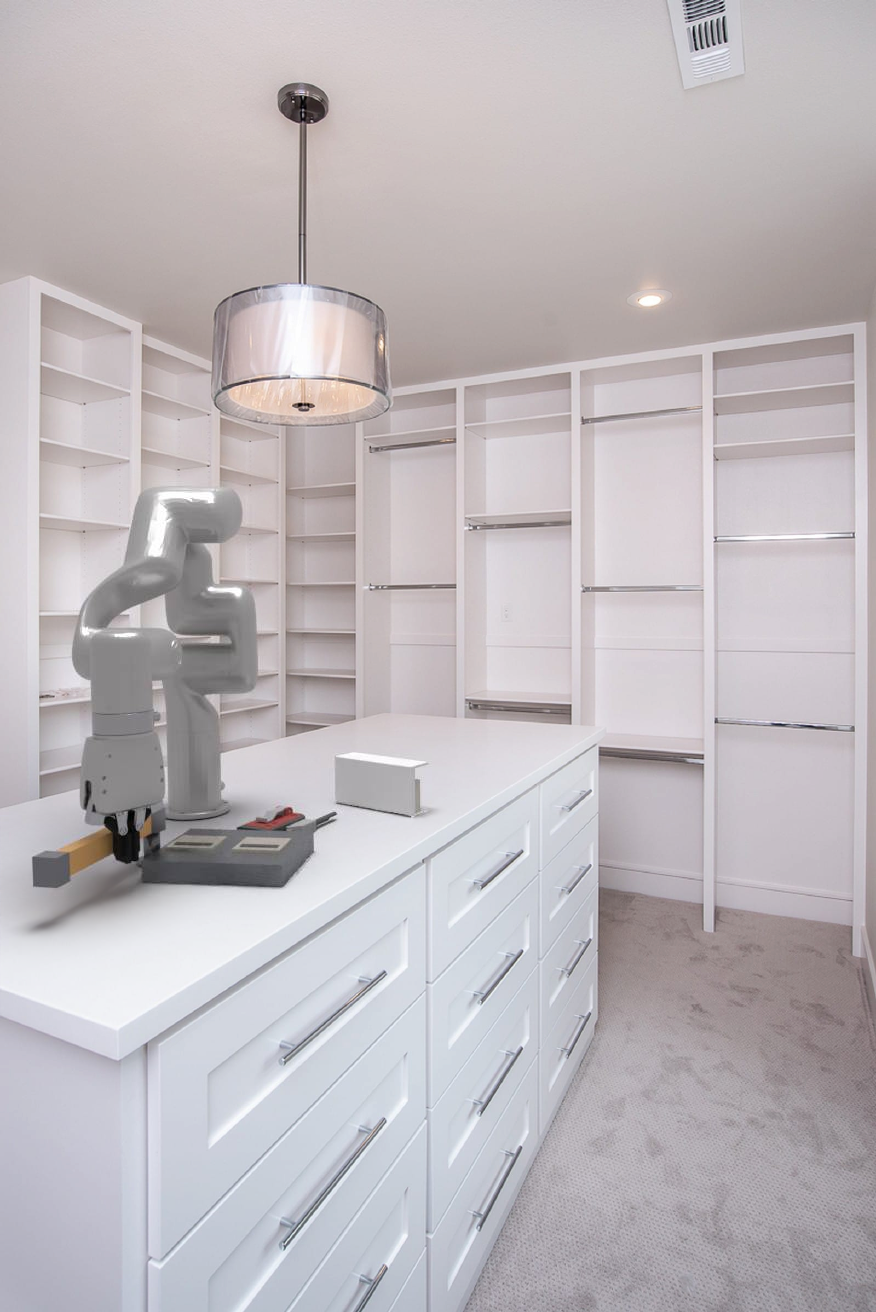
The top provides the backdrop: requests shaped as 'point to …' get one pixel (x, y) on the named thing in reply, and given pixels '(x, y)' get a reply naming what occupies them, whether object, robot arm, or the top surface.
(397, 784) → the cigarette display
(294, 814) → the walkie-talkie
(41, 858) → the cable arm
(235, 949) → the top surface
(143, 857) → the pivot post
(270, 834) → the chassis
